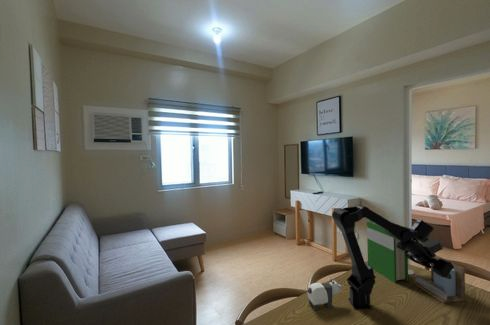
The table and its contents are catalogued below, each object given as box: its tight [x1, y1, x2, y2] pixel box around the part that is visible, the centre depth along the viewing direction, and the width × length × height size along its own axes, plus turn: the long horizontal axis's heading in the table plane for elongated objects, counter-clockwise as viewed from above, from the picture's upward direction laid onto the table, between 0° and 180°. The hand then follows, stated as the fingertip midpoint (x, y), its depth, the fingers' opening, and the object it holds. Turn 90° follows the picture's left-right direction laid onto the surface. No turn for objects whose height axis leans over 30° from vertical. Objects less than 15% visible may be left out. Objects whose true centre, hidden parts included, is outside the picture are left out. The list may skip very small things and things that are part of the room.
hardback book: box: [366, 220, 409, 284], centre depth 121 cm, size 18×7×24 cm, turn 12°
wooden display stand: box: [414, 254, 466, 304], centre depth 104 cm, size 10×14×13 cm
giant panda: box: [307, 278, 343, 311], centre depth 98 cm, size 15×6×10 cm, turn 101°
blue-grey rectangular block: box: [434, 269, 456, 297], centre depth 101 cm, size 5×5×10 cm
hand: (440, 272), depth 101 cm, fingers open, 9 cm apart
